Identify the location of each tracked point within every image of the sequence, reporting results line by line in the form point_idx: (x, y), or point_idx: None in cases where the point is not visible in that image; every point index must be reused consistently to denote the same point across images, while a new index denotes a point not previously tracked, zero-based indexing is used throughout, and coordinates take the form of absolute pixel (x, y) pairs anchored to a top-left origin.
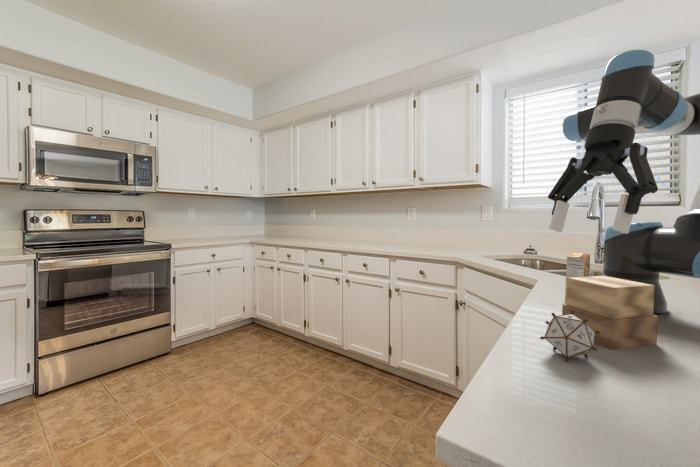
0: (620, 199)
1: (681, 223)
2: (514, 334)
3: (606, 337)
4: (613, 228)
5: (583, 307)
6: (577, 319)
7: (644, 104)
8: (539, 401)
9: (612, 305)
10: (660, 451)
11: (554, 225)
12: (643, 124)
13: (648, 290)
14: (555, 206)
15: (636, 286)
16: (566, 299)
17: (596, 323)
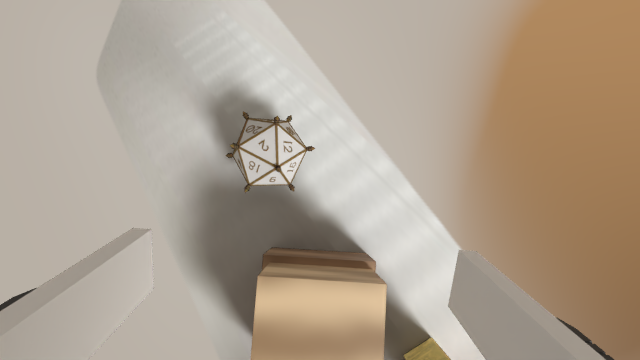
0: (21, 319)
1: None
2: (369, 148)
3: (279, 250)
4: (145, 231)
5: (330, 267)
6: (250, 146)
7: None
8: (200, 26)
9: (266, 267)
10: (109, 62)
11: (466, 267)
12: None
13: None
14: (578, 338)
15: (251, 349)
16: (443, 356)
17: (296, 254)
